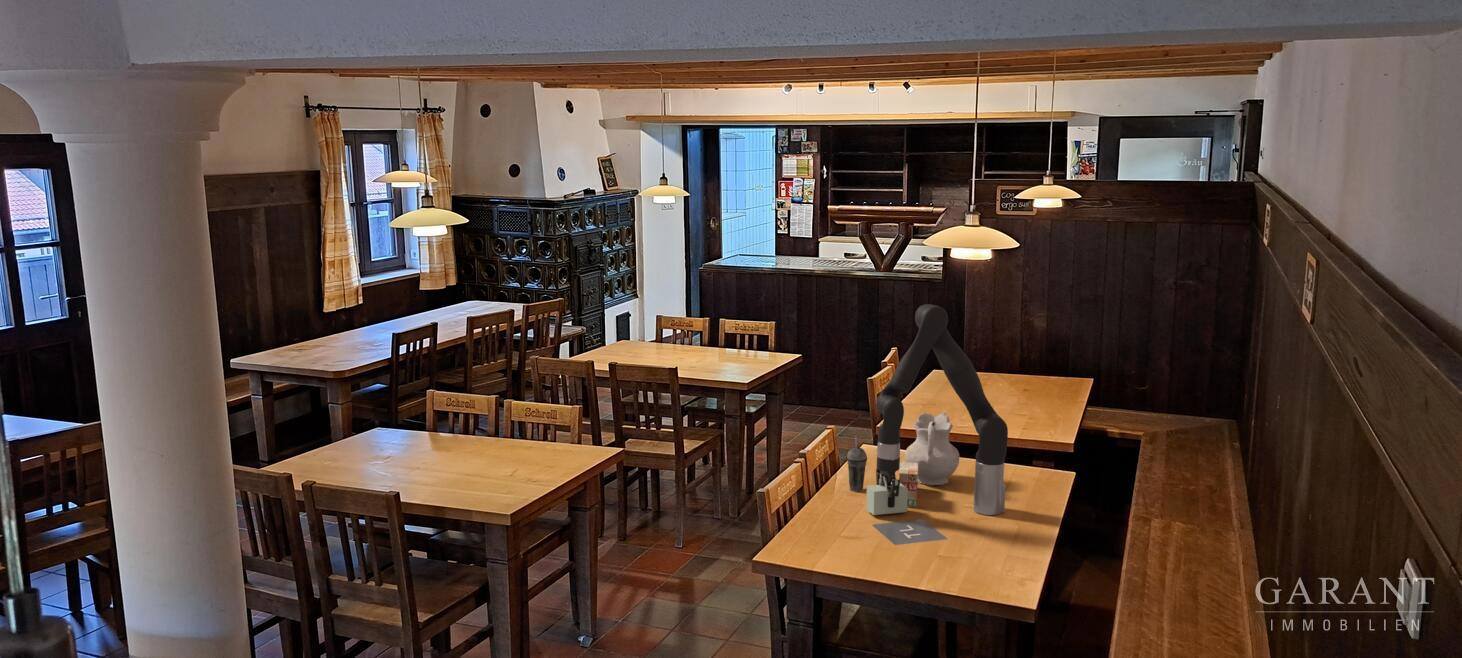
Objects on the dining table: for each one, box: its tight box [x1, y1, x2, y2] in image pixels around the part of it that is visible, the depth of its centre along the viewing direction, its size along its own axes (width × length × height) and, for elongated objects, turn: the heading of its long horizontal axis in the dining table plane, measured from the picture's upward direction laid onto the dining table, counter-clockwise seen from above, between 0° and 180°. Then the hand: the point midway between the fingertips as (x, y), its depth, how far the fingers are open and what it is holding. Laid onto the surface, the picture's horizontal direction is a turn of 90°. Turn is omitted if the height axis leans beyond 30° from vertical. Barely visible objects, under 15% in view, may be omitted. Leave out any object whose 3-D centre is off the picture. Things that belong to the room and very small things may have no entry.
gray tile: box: [871, 518, 948, 546], centre depth 331 cm, size 18×18×1 cm
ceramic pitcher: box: [904, 411, 960, 486], centre depth 379 cm, size 22×20×25 cm
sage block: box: [865, 483, 908, 516], centre depth 346 cm, size 6×12×8 cm, turn 106°
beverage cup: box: [846, 435, 868, 493], centre depth 370 cm, size 7×7×20 cm
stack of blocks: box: [898, 461, 919, 508], centre depth 363 cm, size 21×6×12 cm, turn 170°
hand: (886, 503), depth 347 cm, fingers closed on sage block, 6 cm apart
